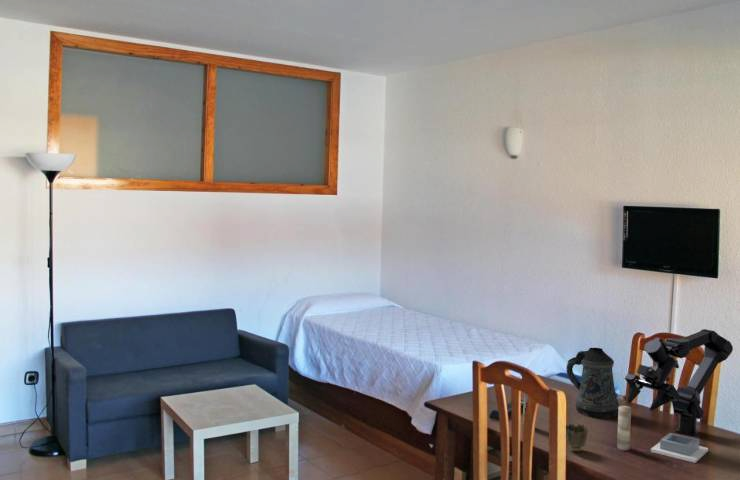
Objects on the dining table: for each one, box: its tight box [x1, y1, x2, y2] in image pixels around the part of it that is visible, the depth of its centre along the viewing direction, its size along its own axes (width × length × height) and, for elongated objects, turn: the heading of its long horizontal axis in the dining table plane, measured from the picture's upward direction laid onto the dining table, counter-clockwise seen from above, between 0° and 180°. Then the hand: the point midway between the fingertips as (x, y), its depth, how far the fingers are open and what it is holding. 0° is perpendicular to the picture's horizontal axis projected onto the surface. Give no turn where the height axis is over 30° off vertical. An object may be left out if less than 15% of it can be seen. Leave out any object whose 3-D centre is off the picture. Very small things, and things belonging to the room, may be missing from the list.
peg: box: [616, 405, 632, 451], centre depth 233 cm, size 4×4×14 cm
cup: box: [565, 423, 589, 453], centre depth 231 cm, size 8×7×8 cm
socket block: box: [650, 432, 709, 464], centre depth 231 cm, size 14×14×4 cm
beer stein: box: [565, 347, 620, 419], centre depth 272 cm, size 16×19×25 cm
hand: (639, 406), depth 237 cm, fingers open, 9 cm apart
